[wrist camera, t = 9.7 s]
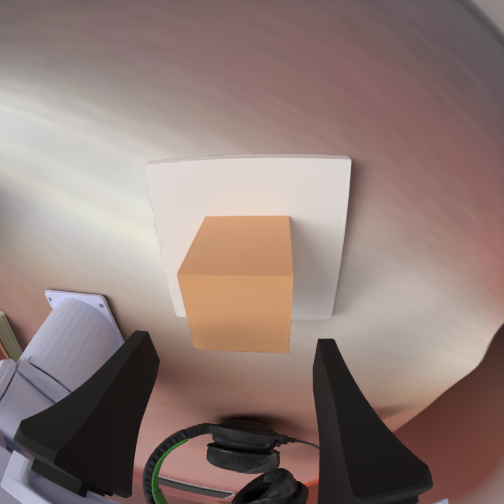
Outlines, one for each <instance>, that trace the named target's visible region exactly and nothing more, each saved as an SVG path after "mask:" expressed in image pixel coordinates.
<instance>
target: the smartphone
mask: <svg viewBox="0 0 504 504" xmlns="http://www.w3.org/2000/svg"><path fill="white" fill-rule="evenodd" d="M158 484H161V485H165V486H168V487H172V488H176V489H180V490H184V491H188V492H193V493H197V494H202V495H207V496H212V497H218V498H224V499H226V498H229V497H231V496H233V495H235V493H236V492H235V491H228V490H222V489H216V488H210V487H205V486H200V485H195V484H191V483H186V482H182V481H178V480H174V479H170V478H167V477H163V476H159V475H158Z"/></svg>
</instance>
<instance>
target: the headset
mask: <svg viewBox="0 0 504 504" xmlns="http://www.w3.org/2000/svg"><path fill="white" fill-rule="evenodd" d="M203 434H212V435H213V437H212V439H213V440H214V442H213V443H209V444H208V445H207V446H208V449H207V460H208V462H210V463H211V464H212V465H214V466H216V467H219V468H223V469H226V470H232V471H236V472H240V473H246V474H258V473H264V474H262V475H260V476H259V477H257V478H255V479H254V480H252V481H251V482H250V483H248V484H247V485H246V486H245V487H243V488H242V489H241V490H240V491H239V492H238V493H237V494H236V496H235V497H234V498H233V500H232V503H231V504H306V501H307V498H308V488H307V487H306V486H305V485H304V484H302V483H301V482H299V481H296V479H294V477H293V475H292V474H291V473H290V472H289V471H288V470H286V469H284V468H278V467H279V464H280V456H279V454H280V452H278V451H276V450H274V449H273V448H274V447H280V445H282V444H287V442H292V443H295V442H300V443H304V444H308V445H312V446H314V447H316V448H317V449H320V447H318V446H316V445H314V444H312V443H309V442H306V441H301V440H296V439H295V438H290V437H288V436H286V435H279V434H278V433H277V432H275V431H274V430H272V429H271V428H270V427H268V426H266V425H265V424H262V423H261V422H258V421H248V420H238V419H233V420H229V421H227V422H224V423H221V424H219V425H217V424H211V423H203V424H198V425H197V426H196V425H195V426H192V427H189V428H187V429H183V430H180V431H178V432H176V433H174V434H172V435H171V436H169V437H168V438H166V439H165V440H164V441H163V442H162V443H161V444H160V445H159V446H158V447H157V448H156V449H155V450H154V451H153V453H152V454H151V456H150V457H149V459H148V461H147V463H146V465H145V468H144V472H143V480H142V482H143V491H144V495H145V498H146V501H147V503H148V504H168V503H167V502H166V500H165V498H164V495H163V493H162V491H161V489H159V485H158V474H159V471H160V467H161V464H162V462H163V460H164V458H165V457H166V456H167V455H168V454H169V453H170V452H171V451H172V450H173V449H175V448H176V447H178V446H179V445H181V444H183V443H185V442H187V441H188V439H191V438H194V437H196V436H199V435H203Z"/></svg>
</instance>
